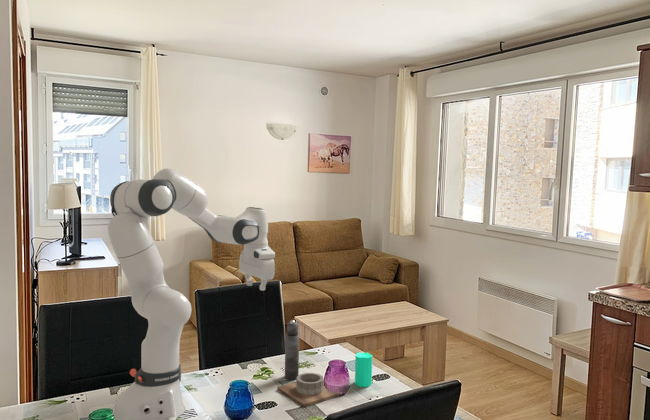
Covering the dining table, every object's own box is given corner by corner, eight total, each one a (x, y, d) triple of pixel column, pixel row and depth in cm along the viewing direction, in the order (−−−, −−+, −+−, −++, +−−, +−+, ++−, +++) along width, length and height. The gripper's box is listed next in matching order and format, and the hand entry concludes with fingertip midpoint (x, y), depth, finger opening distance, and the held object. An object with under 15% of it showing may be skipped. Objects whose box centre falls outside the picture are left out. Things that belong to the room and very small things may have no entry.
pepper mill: (289, 381, 179) (290, 322, 178) (282, 376, 183) (283, 319, 182) (301, 378, 182) (302, 320, 181) (293, 373, 186) (294, 317, 185)
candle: (372, 387, 176) (373, 353, 175) (355, 386, 176) (356, 353, 175) (370, 380, 182) (371, 348, 181) (354, 379, 182) (355, 347, 181)
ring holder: (304, 407, 159) (304, 392, 159) (277, 389, 172) (277, 375, 172) (342, 394, 169) (343, 380, 169) (314, 379, 182) (314, 365, 182)
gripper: (234, 248, 191) (234, 283, 192) (262, 255, 175) (262, 294, 176) (249, 246, 195) (249, 281, 196) (277, 253, 179) (277, 291, 180)
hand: (255, 287), depth 186 cm, fingers open, 8 cm apart
